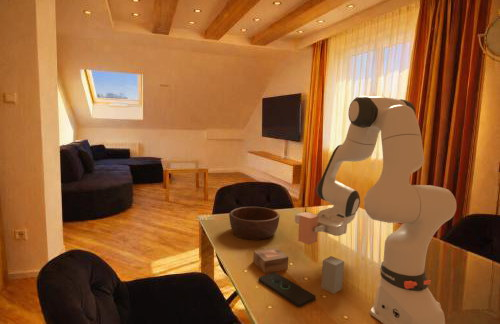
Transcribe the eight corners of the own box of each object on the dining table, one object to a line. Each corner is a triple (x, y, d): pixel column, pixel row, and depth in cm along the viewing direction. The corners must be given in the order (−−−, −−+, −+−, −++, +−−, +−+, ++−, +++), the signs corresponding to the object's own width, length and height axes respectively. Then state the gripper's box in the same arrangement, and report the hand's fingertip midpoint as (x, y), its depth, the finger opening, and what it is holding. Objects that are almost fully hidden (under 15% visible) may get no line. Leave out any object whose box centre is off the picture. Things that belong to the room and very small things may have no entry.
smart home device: (275, 271, 118) (316, 295, 102) (274, 275, 118) (316, 300, 102) (257, 277, 113) (298, 304, 97) (257, 282, 113) (298, 309, 97)
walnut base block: (287, 269, 122) (288, 256, 122) (264, 274, 118) (264, 261, 118) (275, 259, 132) (275, 247, 131) (253, 262, 127) (253, 250, 127)
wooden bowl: (218, 231, 161) (219, 211, 160) (255, 221, 178) (255, 203, 176) (251, 247, 143) (252, 224, 141) (289, 234, 159) (290, 214, 158)
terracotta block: (317, 241, 121) (318, 215, 119) (309, 244, 117) (310, 218, 116) (306, 237, 124) (307, 212, 123) (298, 240, 121) (299, 215, 120)
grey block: (342, 288, 109) (344, 261, 108) (333, 293, 106) (335, 265, 104) (329, 283, 113) (331, 256, 111) (321, 287, 109) (322, 260, 108)
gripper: (307, 206, 136) (286, 212, 127) (351, 218, 121) (330, 226, 112) (306, 221, 137) (285, 228, 127) (349, 234, 122) (329, 243, 113)
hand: (306, 227), depth 119 cm, fingers closed on terracotta block, 5 cm apart
